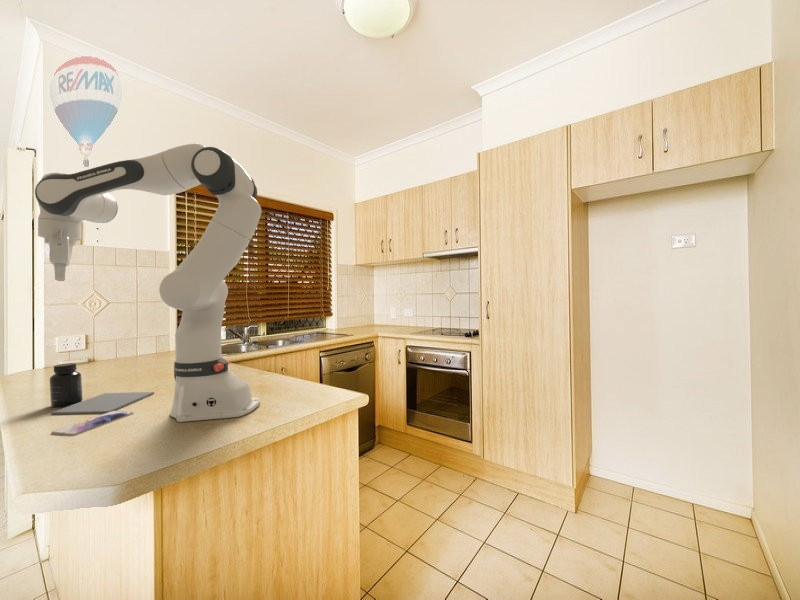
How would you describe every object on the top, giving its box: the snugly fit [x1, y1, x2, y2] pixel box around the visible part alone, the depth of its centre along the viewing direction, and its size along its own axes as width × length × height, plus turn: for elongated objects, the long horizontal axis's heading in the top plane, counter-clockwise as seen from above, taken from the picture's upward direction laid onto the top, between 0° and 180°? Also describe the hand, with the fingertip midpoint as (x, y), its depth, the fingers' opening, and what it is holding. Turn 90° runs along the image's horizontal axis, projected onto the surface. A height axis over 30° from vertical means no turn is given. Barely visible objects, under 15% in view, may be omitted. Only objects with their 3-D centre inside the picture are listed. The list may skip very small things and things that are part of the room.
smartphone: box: [50, 410, 135, 437], centre depth 87 cm, size 7×1×15 cm
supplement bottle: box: [49, 362, 84, 409], centre depth 102 cm, size 7×7×12 cm
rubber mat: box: [50, 391, 155, 416], centre depth 102 cm, size 16×18×1 cm
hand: (60, 280), depth 97 cm, fingers open, 8 cm apart
